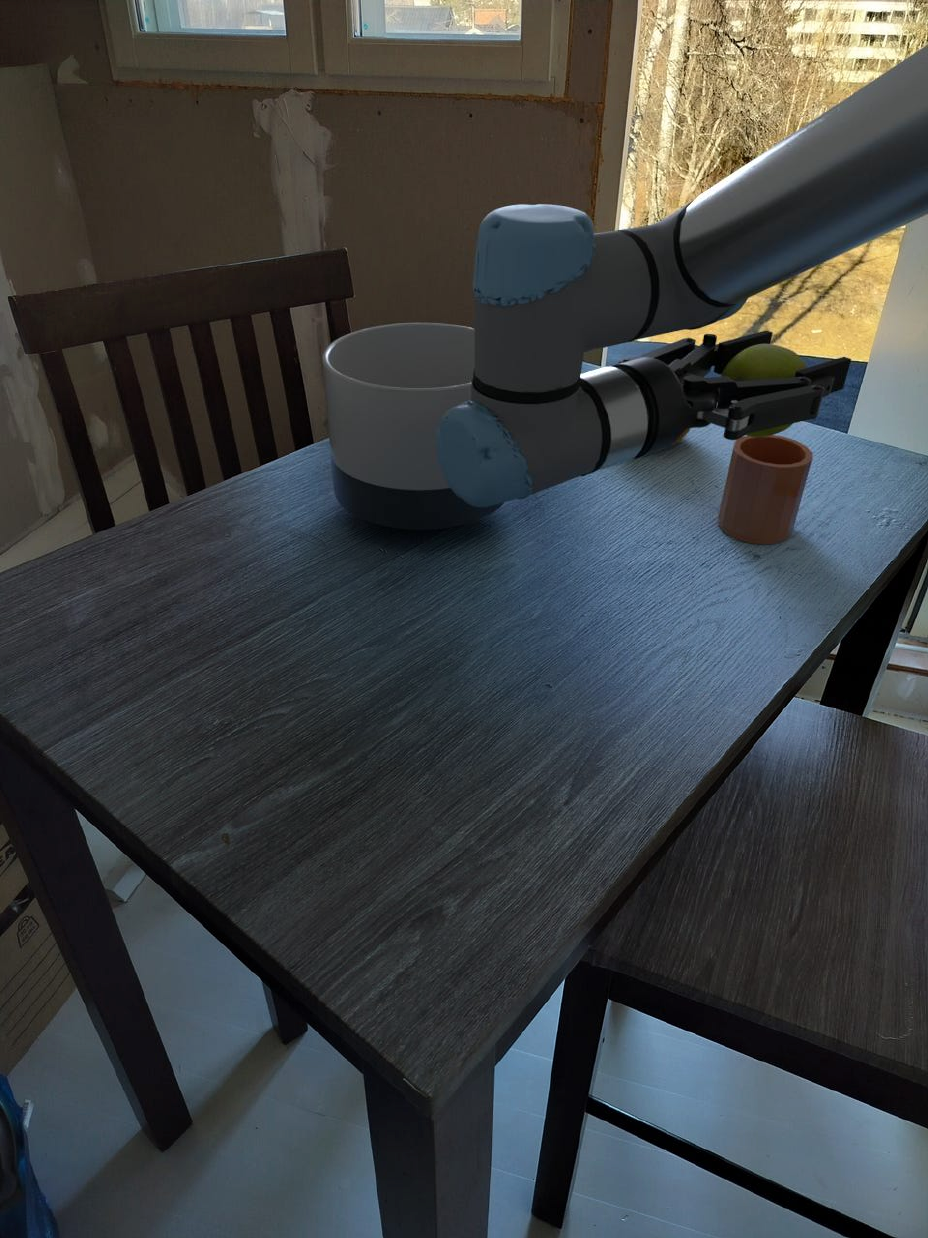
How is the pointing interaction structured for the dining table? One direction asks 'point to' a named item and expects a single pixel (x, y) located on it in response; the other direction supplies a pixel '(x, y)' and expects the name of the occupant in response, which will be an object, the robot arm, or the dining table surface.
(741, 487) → the cup
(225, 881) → the dining table surface
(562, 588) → the dining table surface
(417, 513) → the planter
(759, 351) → the apple
